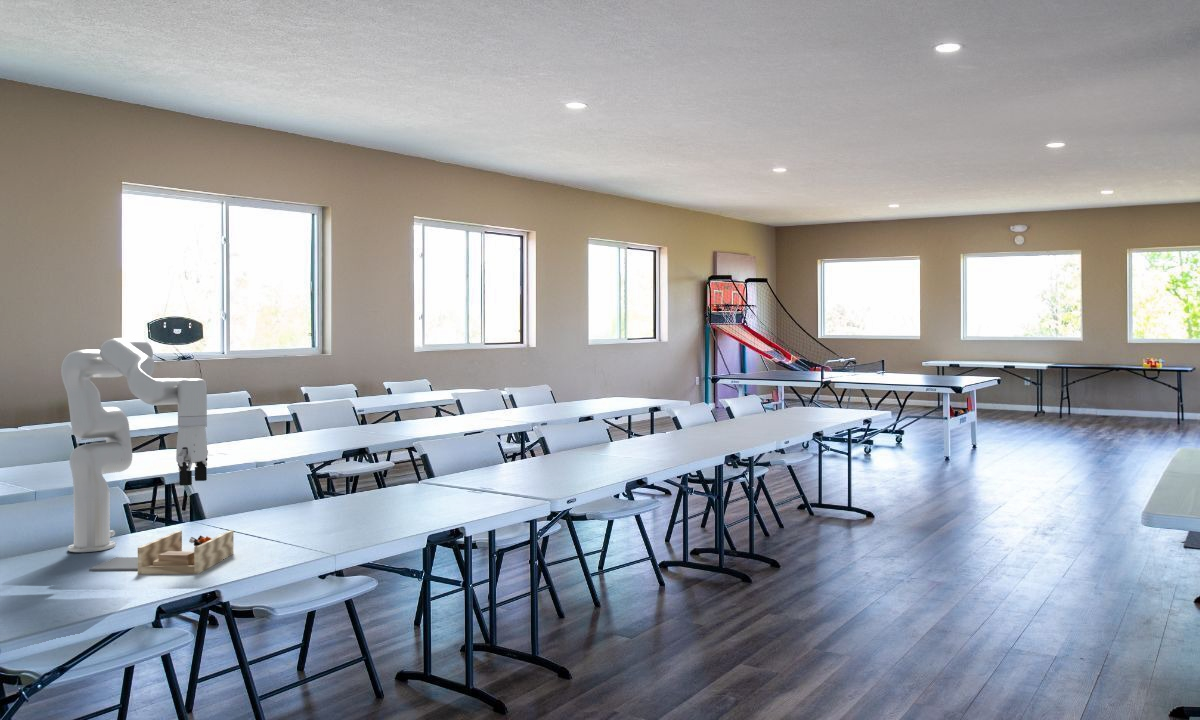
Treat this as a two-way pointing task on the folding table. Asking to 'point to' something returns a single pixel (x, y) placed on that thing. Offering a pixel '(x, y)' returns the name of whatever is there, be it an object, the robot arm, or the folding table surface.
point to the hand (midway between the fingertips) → (193, 482)
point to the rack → (203, 553)
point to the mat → (118, 564)
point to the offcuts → (175, 558)
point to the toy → (199, 540)
